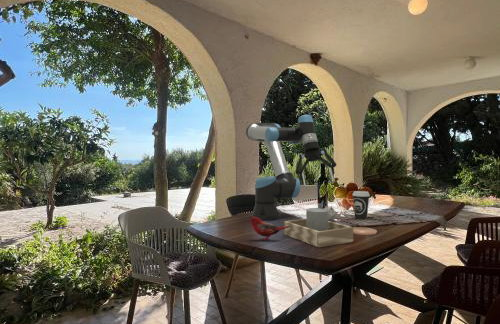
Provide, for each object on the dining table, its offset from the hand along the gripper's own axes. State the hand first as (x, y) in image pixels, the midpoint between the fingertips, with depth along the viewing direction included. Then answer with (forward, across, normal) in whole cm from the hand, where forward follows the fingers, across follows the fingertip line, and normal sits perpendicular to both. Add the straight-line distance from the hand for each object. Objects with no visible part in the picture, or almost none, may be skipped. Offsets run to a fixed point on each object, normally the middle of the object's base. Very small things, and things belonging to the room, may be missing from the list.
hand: (319, 183), depth 167 cm
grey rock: (+15, +2, +27) cm, 31 cm away
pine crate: (+26, -6, -10) cm, 29 cm away
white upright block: (+26, -6, -10) cm, 29 cm away
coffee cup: (+15, +20, +37) cm, 45 cm away
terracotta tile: (+26, +16, +4) cm, 30 cm away
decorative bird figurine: (+25, -26, -18) cm, 40 cm away
